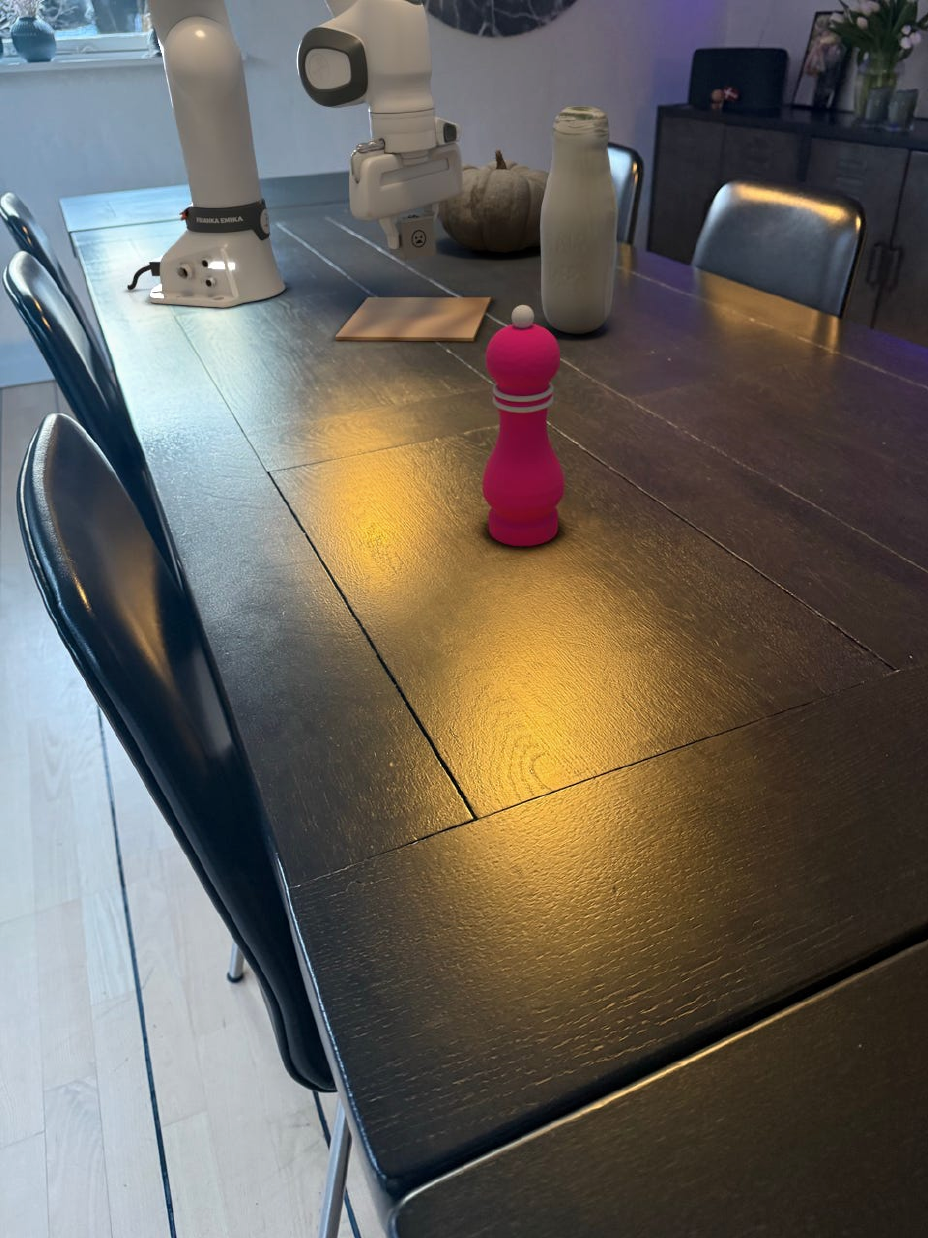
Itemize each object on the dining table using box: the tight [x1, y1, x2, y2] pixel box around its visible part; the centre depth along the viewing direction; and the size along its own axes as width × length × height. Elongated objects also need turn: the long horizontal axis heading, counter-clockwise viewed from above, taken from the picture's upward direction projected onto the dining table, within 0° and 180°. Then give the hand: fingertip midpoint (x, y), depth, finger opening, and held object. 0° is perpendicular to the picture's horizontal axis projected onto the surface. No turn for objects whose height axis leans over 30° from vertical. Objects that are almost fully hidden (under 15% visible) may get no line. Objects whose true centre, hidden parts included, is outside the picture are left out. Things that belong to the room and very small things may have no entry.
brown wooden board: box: [335, 296, 492, 342], centre depth 135 cm, size 20×20×1 cm
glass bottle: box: [540, 105, 619, 335], centre depth 120 cm, size 10×10×28 cm
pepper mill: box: [481, 304, 565, 547], centre depth 76 cm, size 7×7×20 cm
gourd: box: [436, 149, 550, 254], centre depth 168 cm, size 25×25×17 cm
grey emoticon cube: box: [389, 211, 437, 261], centre depth 128 cm, size 5×5×5 cm
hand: (411, 242), depth 129 cm, fingers closed on grey emoticon cube, 5 cm apart
